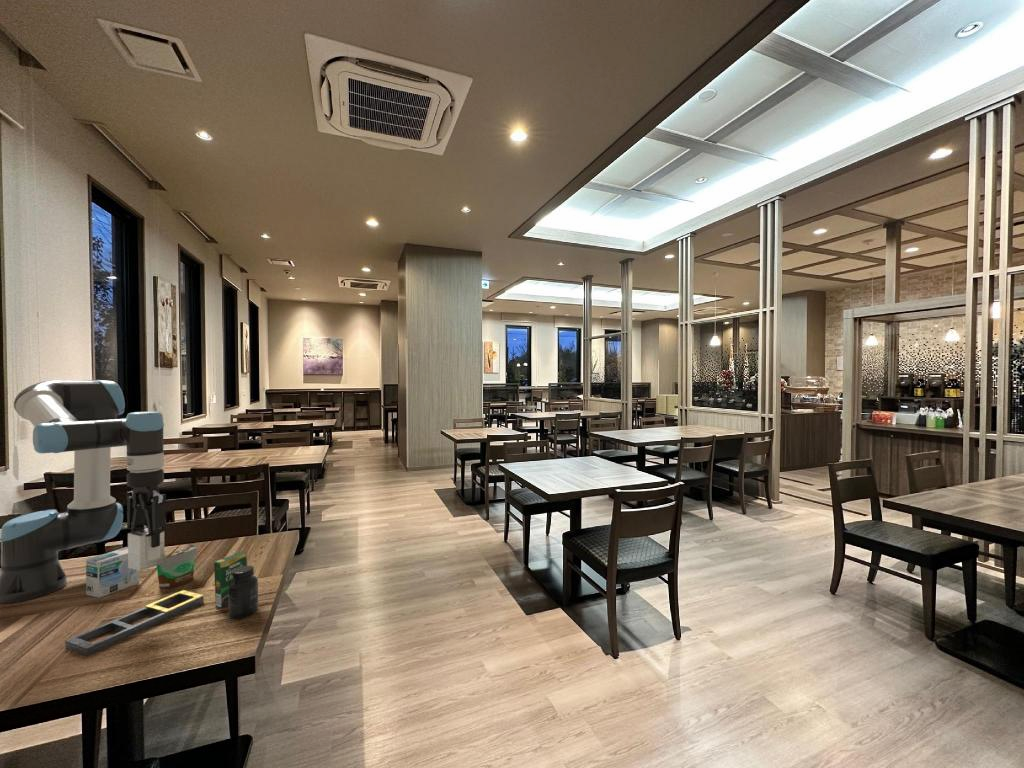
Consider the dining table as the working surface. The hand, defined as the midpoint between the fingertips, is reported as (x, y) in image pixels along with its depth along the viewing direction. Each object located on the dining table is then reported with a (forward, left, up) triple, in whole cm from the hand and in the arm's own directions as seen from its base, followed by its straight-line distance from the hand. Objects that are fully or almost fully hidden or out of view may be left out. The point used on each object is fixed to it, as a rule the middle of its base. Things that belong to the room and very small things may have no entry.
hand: (146, 557), depth 114 cm
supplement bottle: (+21, +11, -17) cm, 29 cm away
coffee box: (+12, +14, -17) cm, 25 cm away
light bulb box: (-31, +7, -17) cm, 36 cm away
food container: (-15, +17, -17) cm, 29 cm away
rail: (0, -2, -17) cm, 17 cm away
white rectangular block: (0, 0, -2) cm, 2 cm away
